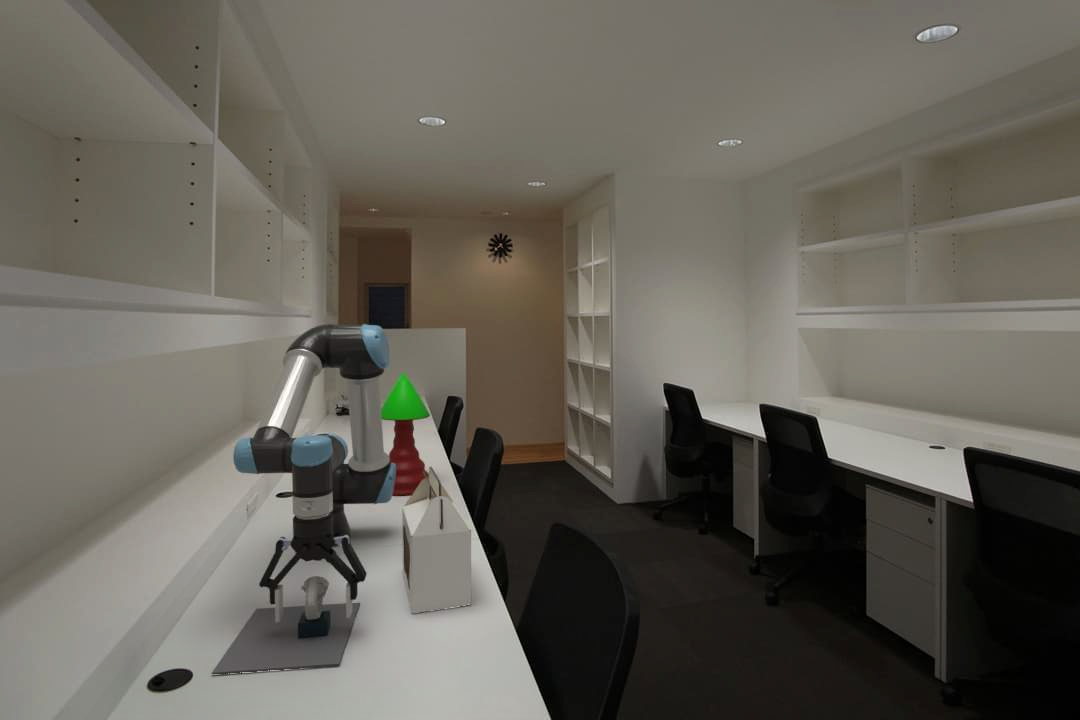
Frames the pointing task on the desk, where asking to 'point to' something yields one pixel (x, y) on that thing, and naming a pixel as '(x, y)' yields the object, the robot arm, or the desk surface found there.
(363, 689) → the desk surface
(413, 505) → the gable box
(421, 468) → the table lamp
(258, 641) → the rubber mat
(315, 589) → the watch
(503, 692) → the desk surface
